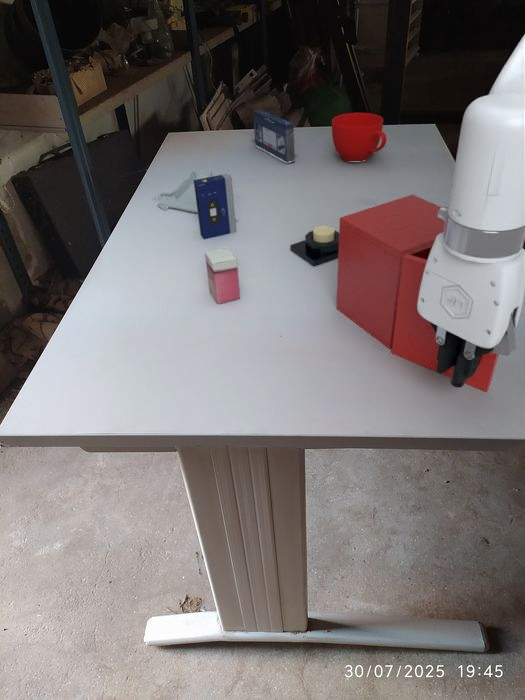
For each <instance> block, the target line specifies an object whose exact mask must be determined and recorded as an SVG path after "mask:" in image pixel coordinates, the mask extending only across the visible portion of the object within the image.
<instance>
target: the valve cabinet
mask: <svg viewBox="0 0 525 700" xmlns="http://www.w3.org/2000/svg"><path fill="white" fill-rule="evenodd" d="M441 207H442V206H440V205H437V204H435V203H433V202H430V201H428V200H426V199H424V198H421V197H419V196H418V195H417V196H416V194H415V195H414V194H409V195H406V196H403V197H400V198H397V199H394V200H391V201H388V202H387V201H386V202H384V203H382V204H378V205H374V206H372V207H368V208H366V209H362V210H360V211H356V212H353V213H349V214H347V215H344V216H341V217H339V227H338V229H339V230H338V232H339V252H338V258H337V280H336V307H335V308H336V310H337V311H338V312H339V313H341V314H342V315H344V316H345V317H346V318H347V319H349V320H350V321H351V322H353V323H355V324H356V326H358V327H359V328H361V329H362V330H363V331H365V332H366V333H368V334H369V335H370V336H371V337H372V338H374V339H375V340H377V342H379V343H381V344H382V345H383V346H384V347H386V348H388V350H392V346H393V338H394V329H395V321H396V313H397V305H398V297H399V288H400V280H401V272H402V264H403V257H404V256H405V255H406V254H409V255H412V256H415V257H419V258H422V259H426V260H428V257H429V254H430V251H431V249H432V246H433V244H434V241H435V239H436V237H437V235H439V234H440V233H442V232H444V226H445V222H444V221H443V220H442V219H439V218H438V216H437V215H438V211H439V209H440V208H441Z"/></svg>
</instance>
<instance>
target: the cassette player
mask: <svg viewBox="0 0 525 700" xmlns="http://www.w3.org/2000/svg"><path fill="white" fill-rule="evenodd" d="M194 187H195V195H196V203H197V210H198V213H197V214H198V217H197V218H198V225H199V232H200V236H201V238H202V239H203V240H208V239H212V238H216V237H221V236H225V235H230V234H234V233H237V224H236V212H235V211H236V210H235V201H234V199H235V198H234V188H233V177H232V175H231V174H228V173H224V174H219V175H213V177H208V178H202V179H197V180H194Z"/></svg>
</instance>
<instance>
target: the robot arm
mask: <svg viewBox="0 0 525 700" xmlns="http://www.w3.org/2000/svg"><path fill="white" fill-rule="evenodd" d="M460 126H461V127H460V131H459V132H460V133H459V137H458V138H459V139H458V143H457V144H458V145H457V152H456V158H455V162H454V163H455V164H454V170H453V178H452V183H451V187H450V188H451V189H450V195H449V201H448V206H446V205H443V206H440V207H441V208H440V209H439V211H438V215H437V216H438V218H439V219H442V220H443V221H444V222H445V226H444V232H442V233H440V234H439V235H437V237H436V239H435V241H434V244H433V246H432V249H431V251H430V254H429V257H428V260H427V263H426V266H425V269H424V273H423V277H422V281H421V285H420V290H419V296H418V302H417V310H418V312H419V314H420V315H421V316H422V317H423V318H424V319H426V320H428V321H429V322H430V324H431V325H432V327H433V329H434V331H435V333H436V341H437V343H438V344H439V350H438V355H437V360H438V364H437V370H436V371H437V372H436V371H435V372H436V373H438V374H440V375H441V373H444V372H446V371H447V370H448V369H450V368H451V367H453V366H454V362H455V358H456V353H457V349H458V344H459V339H460V338H462V339H464V340H466V345H465V349H464V352H463V353H462V354H460V355H459V356H458V358H457V363H456V368H455V373H454V377H453V380H454V382H456V383H458V384H459V383H460V382H462V381H463V380H464V379H466V378H467V377H468V378H470V377H472V376H473V375H474V374H475V372H476V370H477V366H478V362H479V358H480V356H481V355H484V354H488V353H490V352H491V353H494V354H499V355H500V356H505V357H506V356H510V355H511V354H513V353H514V352H515V351H516V350H517V342H516V341H517V340H516V334H515V331H516V329H517V326H518V324H519V322H520V317H521V313H522V309H523V304H524V299H525V249H524V243H525V34H524V35H523V36H522V37H521V39H520V41H519V42H518V43H517V45H516V47H515V48H514V50H513V52H512V53H511V55H510V56H509V58H508V60H507V61H506V62H505V64H504V65H503V67H502V69H501V71H500V73H499V74H498V75H497V78H496V79H495V81H494V83H493V84H492V86H491V88H490V90H489V93H488V94H487V95H482V96H480V97H477V98H475V100H473V101H472V102H471V103H470V104H469V105H468V106H467V107H466V109H465V111H464V114H463V117H462V121H461V125H460Z"/></svg>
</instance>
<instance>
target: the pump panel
mask: <svg viewBox="0 0 525 700" xmlns="http://www.w3.org/2000/svg"><path fill="white" fill-rule="evenodd" d="M290 251H291V252H292V253H293V254H295V255H296V256H297V257H299V258H301V259H302V260H304V261H305V262H307V263H308V264H309V265H311V266H312V267H317V266H320V265H322V264H325V263H328V262H331V261H334V260H338V252H339V231H338V230H336V229H334V240H333V241H331V242H325V243H321V242H316V241H314V240H313V230H310V231H309V232H307V233H306V234H305V235H304V240H301V241H298V242H295V243H292V244H290Z"/></svg>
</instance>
